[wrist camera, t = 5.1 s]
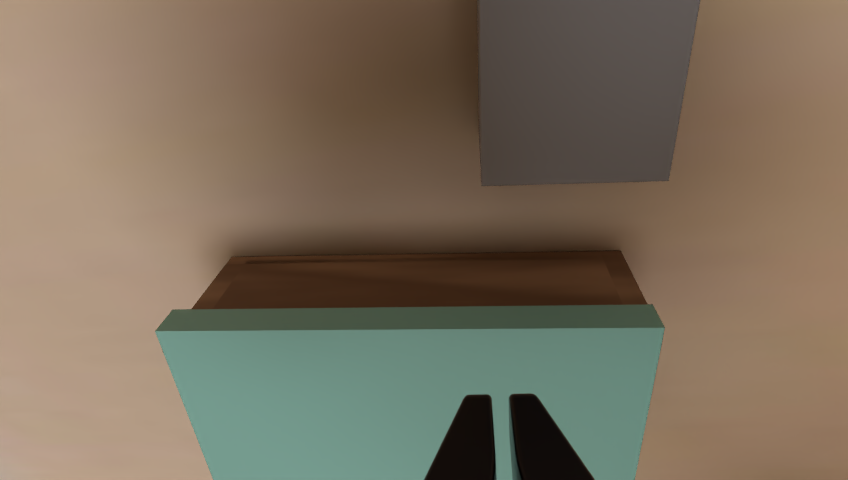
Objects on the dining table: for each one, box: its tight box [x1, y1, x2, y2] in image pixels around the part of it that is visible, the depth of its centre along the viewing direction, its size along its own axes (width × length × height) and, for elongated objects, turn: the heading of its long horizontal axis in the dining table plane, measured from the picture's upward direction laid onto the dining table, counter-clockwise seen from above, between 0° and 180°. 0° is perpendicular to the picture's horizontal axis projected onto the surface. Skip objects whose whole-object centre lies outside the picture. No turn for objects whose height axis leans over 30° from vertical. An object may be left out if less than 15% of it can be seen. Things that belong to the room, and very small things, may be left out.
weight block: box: [477, 0, 700, 186], centre depth 15 cm, size 6×5×5 cm
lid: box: [155, 304, 665, 480], centre depth 20 cm, size 13×16×1 cm
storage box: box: [192, 251, 647, 309], centre depth 23 cm, size 12×16×4 cm
